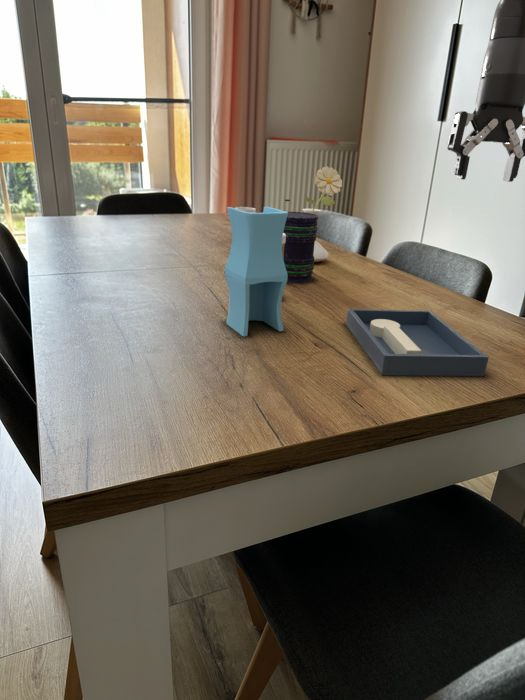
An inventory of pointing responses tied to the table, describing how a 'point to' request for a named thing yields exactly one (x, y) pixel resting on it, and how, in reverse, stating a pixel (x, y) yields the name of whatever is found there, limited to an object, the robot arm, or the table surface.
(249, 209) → the drinking glass
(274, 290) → the vase
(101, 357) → the table surface
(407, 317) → the tray
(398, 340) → the cream round-headed paddle
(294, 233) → the storage jar
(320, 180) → the flower in vase
